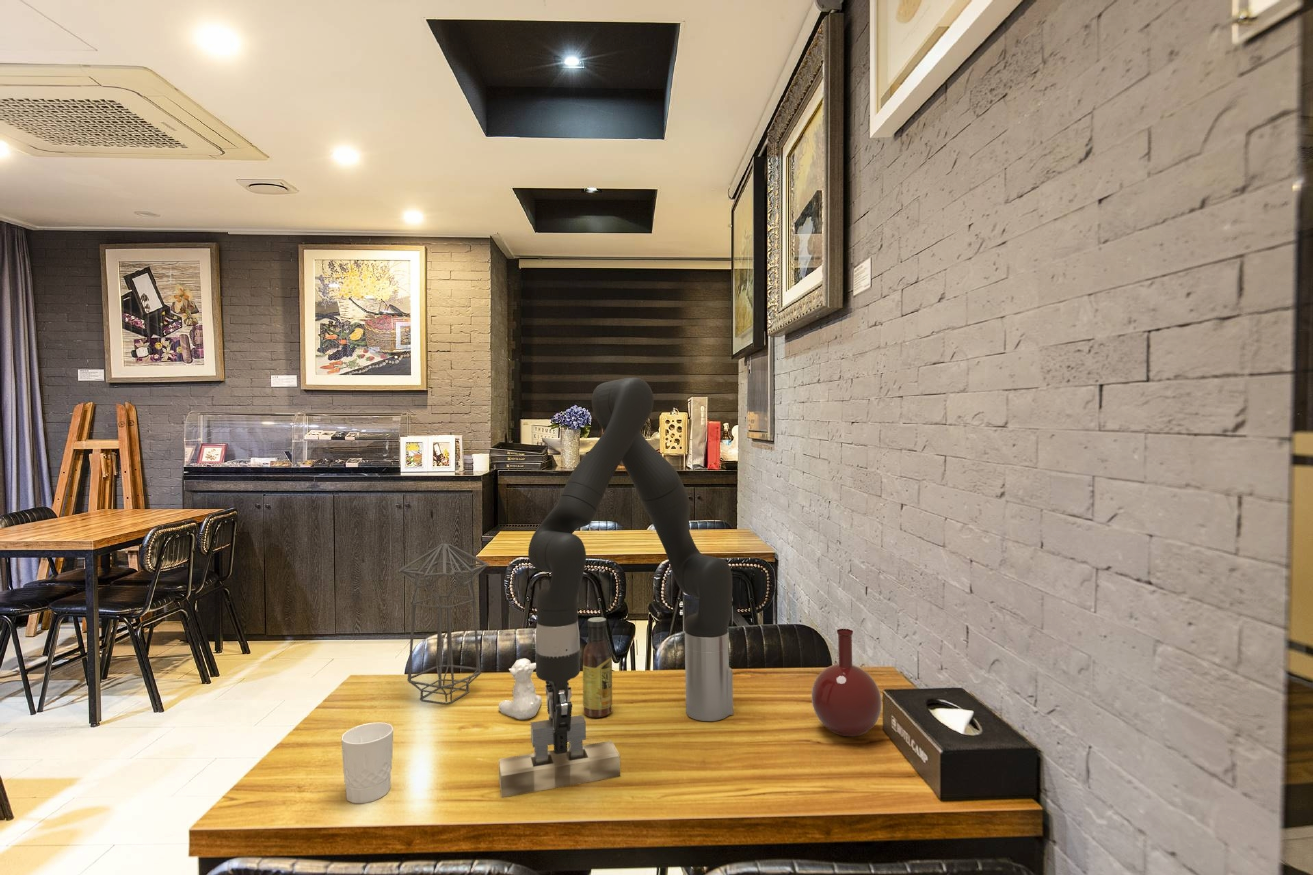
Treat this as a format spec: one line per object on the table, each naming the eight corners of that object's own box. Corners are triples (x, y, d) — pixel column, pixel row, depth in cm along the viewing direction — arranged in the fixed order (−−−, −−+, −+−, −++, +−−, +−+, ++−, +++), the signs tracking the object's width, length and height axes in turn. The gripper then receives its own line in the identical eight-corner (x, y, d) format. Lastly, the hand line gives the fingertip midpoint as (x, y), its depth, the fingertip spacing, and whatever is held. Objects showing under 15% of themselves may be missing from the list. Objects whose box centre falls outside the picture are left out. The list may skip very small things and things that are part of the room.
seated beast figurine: (540, 702, 143) (539, 648, 143) (551, 716, 135) (550, 659, 135) (497, 710, 139) (497, 655, 139) (506, 725, 131) (505, 667, 131)
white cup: (353, 781, 110) (352, 723, 110) (400, 778, 111) (399, 720, 111) (334, 807, 102) (333, 744, 103) (384, 804, 103) (384, 742, 103)
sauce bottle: (607, 720, 133) (606, 624, 133) (579, 718, 134) (577, 623, 134) (616, 707, 139) (614, 615, 140) (588, 705, 141) (587, 614, 141)
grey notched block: (582, 760, 113) (582, 714, 113) (586, 768, 110) (585, 721, 110) (531, 768, 110) (530, 722, 110) (533, 777, 108) (532, 729, 108)
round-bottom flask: (815, 715, 134) (813, 619, 134) (882, 723, 129) (880, 624, 130) (808, 743, 121) (806, 637, 122) (882, 753, 117) (880, 644, 117)
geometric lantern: (393, 703, 143) (393, 547, 145) (442, 681, 158) (441, 538, 159) (449, 713, 137) (448, 549, 139) (495, 688, 152) (493, 540, 153)
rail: (612, 759, 116) (611, 740, 116) (620, 776, 111) (620, 755, 111) (499, 779, 110) (498, 758, 110) (501, 797, 104) (501, 775, 105)
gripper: (587, 657, 105) (588, 763, 105) (572, 633, 118) (573, 727, 118) (541, 663, 103) (542, 771, 103) (531, 638, 116) (532, 733, 116)
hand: (558, 747), depth 110 cm, fingers closed on grey notched block, 3 cm apart
